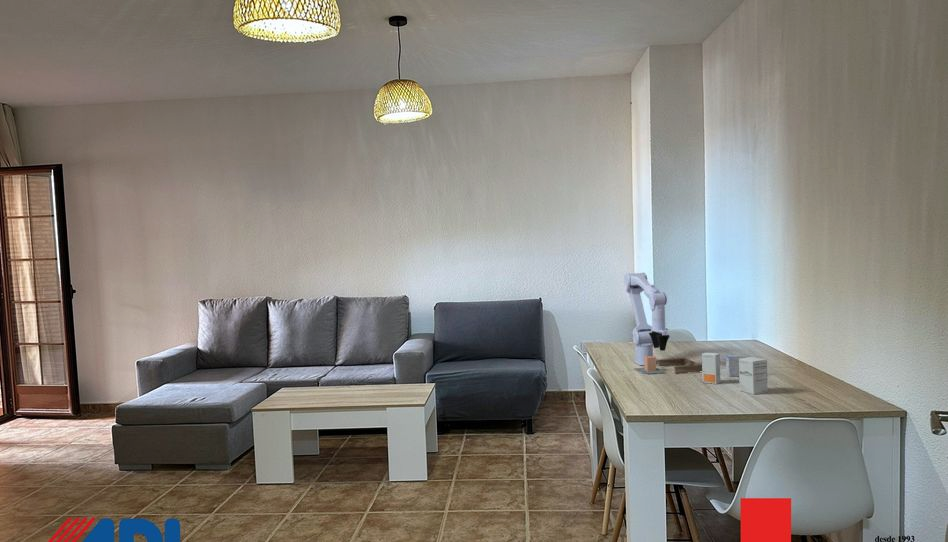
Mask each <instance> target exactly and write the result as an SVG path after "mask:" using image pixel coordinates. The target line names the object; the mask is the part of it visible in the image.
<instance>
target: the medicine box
mask: <svg viewBox="0 0 948 542" xmlns="http://www.w3.org/2000/svg"><path fill="white" fill-rule="evenodd" d="M748 357H749V356H747V355H746V354H726V356H725V360H726V363H725V364H726V367H725V368H726V376H727V377H729V378H733V377H732V376H735V377H738V376H739V359H741V358H748ZM735 377H734V378H735Z"/></svg>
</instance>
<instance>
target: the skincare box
mask: <svg viewBox="0 0 948 542" xmlns="http://www.w3.org/2000/svg"><path fill="white" fill-rule="evenodd" d="M701 364H702V372H701V373H702V376H701V377H702V383H703V382H704V383H706V384H711V383H712V385H718V384H720V383H721V354H720V353H716V352H704V353H703V352H702V353H701Z"/></svg>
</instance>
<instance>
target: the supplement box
mask: <svg viewBox="0 0 948 542" xmlns="http://www.w3.org/2000/svg"><path fill="white" fill-rule="evenodd" d="M747 357H748V358H741V359H739V380H738V381H739V391H740V392H744V393H747V394H752V395H759V394H765V393H768V388H769V387H768V359H765V358H759V357H754V356H747Z"/></svg>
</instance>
